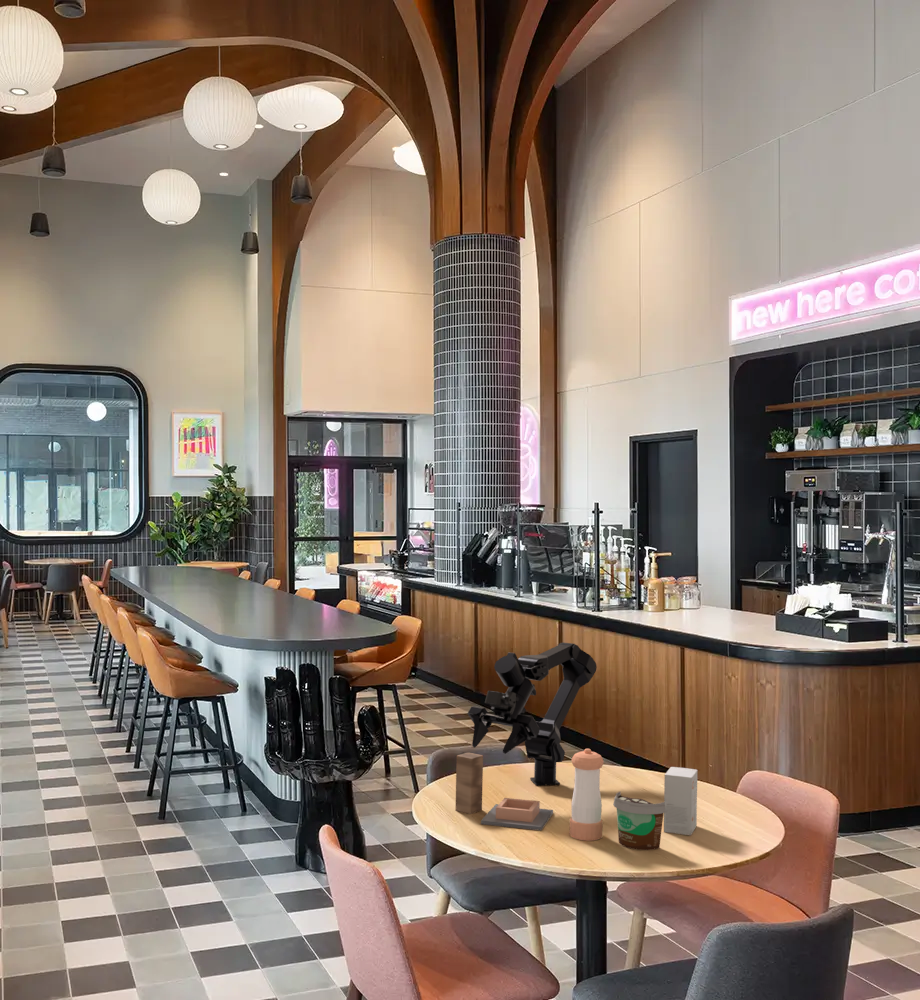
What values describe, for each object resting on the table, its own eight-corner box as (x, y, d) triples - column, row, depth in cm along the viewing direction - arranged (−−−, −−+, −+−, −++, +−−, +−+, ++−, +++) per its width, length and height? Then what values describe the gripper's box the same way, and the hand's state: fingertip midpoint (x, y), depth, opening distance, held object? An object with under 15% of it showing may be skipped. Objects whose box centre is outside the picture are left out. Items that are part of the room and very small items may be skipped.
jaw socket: (495, 807, 252) (496, 793, 252) (553, 813, 248) (553, 799, 248) (480, 824, 239) (481, 809, 239) (541, 830, 235) (541, 815, 235)
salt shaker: (596, 829, 236) (598, 744, 236) (606, 840, 229) (608, 752, 229) (565, 830, 235) (567, 745, 235) (574, 841, 228) (576, 753, 228)
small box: (669, 822, 243) (670, 766, 243) (697, 825, 241) (698, 769, 241) (662, 832, 236) (663, 774, 236) (691, 836, 234) (692, 777, 234)
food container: (601, 842, 228) (602, 796, 228) (617, 836, 232) (618, 790, 232) (649, 856, 219) (650, 808, 219) (665, 849, 224) (666, 802, 224)
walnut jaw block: (466, 806, 253) (468, 752, 253) (481, 810, 250) (483, 755, 250) (455, 810, 249) (456, 755, 249) (470, 814, 246) (471, 758, 246)
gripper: (472, 674, 265) (444, 724, 257) (534, 683, 254) (506, 735, 245) (490, 701, 272) (463, 750, 263) (551, 711, 260) (524, 763, 251)
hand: (488, 749), depth 255 cm, fingers open, 9 cm apart
